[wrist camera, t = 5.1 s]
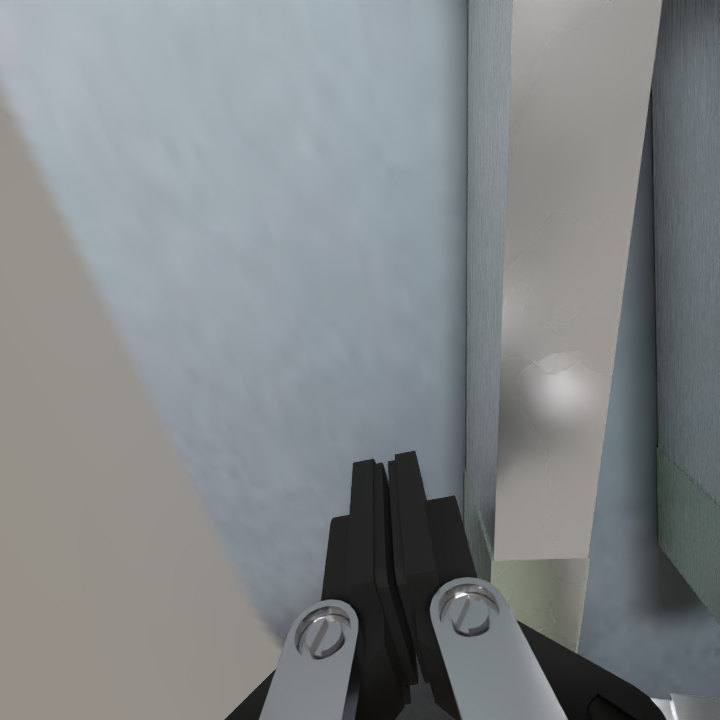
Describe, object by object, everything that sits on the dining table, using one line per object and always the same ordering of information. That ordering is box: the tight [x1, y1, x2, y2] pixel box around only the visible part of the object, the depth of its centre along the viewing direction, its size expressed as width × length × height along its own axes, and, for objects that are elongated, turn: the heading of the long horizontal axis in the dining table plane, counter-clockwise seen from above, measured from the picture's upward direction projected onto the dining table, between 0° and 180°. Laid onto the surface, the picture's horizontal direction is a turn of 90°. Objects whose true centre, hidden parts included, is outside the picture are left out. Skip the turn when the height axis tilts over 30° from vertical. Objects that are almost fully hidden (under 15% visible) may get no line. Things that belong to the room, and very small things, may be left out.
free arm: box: [464, 0, 662, 654], centre depth 9 cm, size 4×19×3 cm, turn 5°
